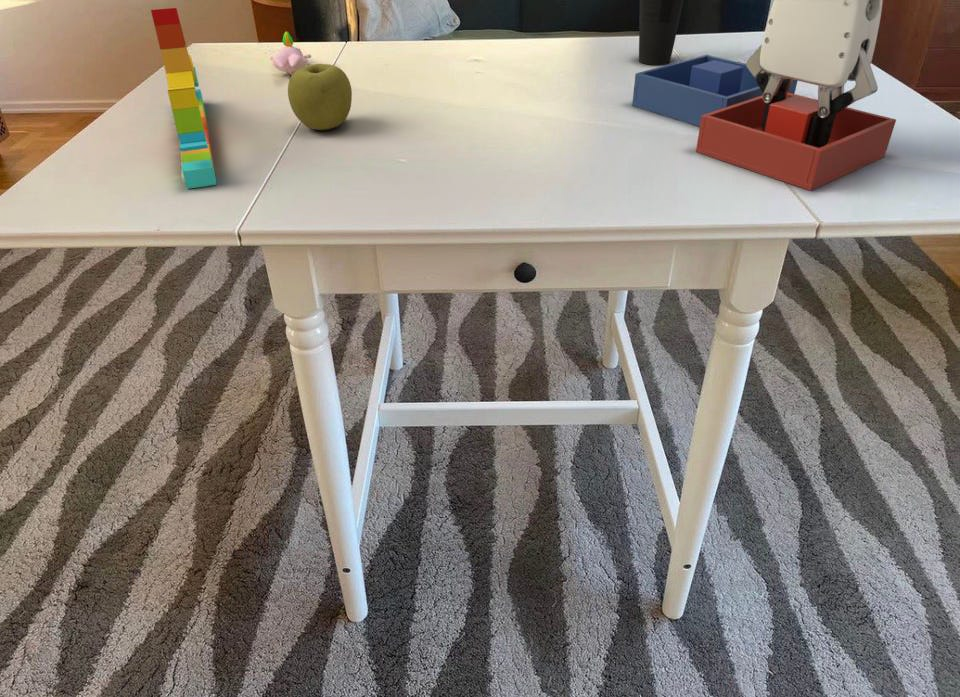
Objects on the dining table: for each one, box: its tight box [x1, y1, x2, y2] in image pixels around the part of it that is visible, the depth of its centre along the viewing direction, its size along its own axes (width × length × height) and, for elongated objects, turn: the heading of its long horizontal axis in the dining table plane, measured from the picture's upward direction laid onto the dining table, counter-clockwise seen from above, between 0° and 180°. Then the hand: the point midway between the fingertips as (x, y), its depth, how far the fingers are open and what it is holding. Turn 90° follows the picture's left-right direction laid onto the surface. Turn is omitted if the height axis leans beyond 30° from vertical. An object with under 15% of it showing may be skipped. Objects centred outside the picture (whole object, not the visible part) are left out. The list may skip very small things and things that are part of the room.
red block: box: [764, 96, 818, 144], centre depth 78 cm, size 4×4×4 cm
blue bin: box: [631, 54, 798, 128], centre depth 93 cm, size 14×14×4 cm
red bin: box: [695, 92, 897, 192], centre depth 79 cm, size 14×14×4 cm
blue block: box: [689, 60, 744, 97], centre depth 92 cm, size 4×4×4 cm
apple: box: [287, 63, 353, 131], centre depth 88 cm, size 8×8×7 cm
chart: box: [150, 7, 217, 190], centre depth 83 cm, size 30×3×15 cm, turn 20°
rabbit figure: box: [269, 30, 312, 76], centre depth 109 cm, size 6×6×15 cm
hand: (792, 142), depth 79 cm, fingers closed on red block, 4 cm apart
